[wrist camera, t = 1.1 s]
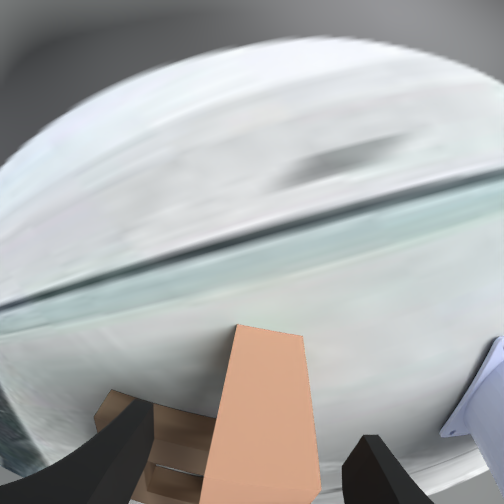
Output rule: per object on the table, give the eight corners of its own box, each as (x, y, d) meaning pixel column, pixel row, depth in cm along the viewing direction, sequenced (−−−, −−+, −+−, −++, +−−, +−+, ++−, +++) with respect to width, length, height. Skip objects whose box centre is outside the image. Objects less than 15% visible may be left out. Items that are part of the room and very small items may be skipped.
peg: (302, 336, 14) (321, 489, 6) (286, 384, 15) (289, 527, 7) (237, 324, 14) (203, 476, 6) (227, 374, 15) (197, 516, 7)
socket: (279, 429, 16) (279, 462, 13) (248, 500, 18) (246, 525, 16) (111, 389, 16) (94, 416, 13) (125, 471, 19) (115, 493, 16)
